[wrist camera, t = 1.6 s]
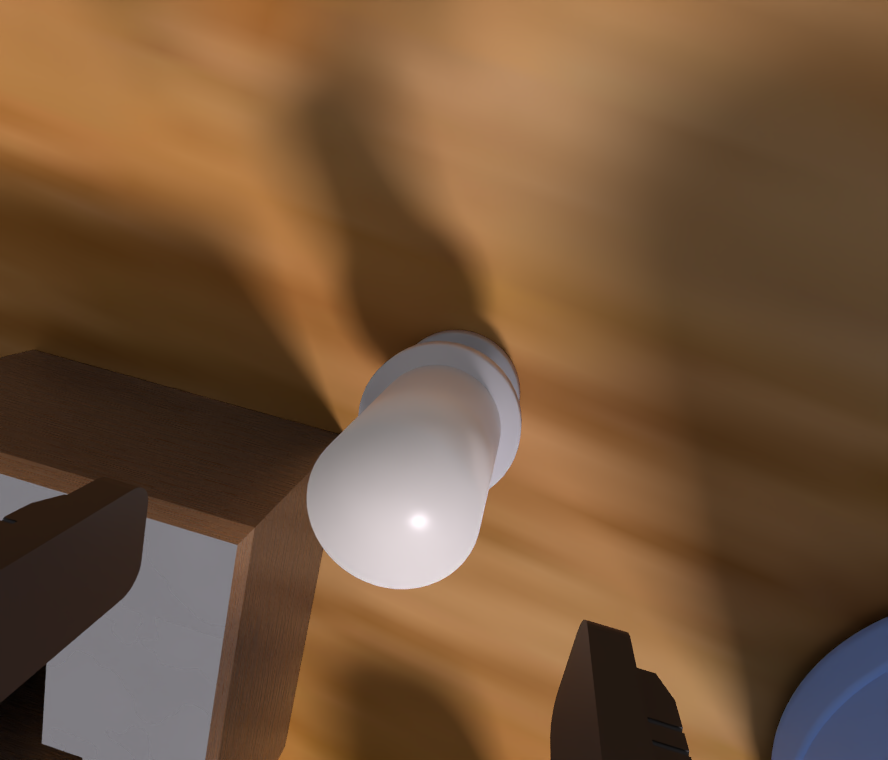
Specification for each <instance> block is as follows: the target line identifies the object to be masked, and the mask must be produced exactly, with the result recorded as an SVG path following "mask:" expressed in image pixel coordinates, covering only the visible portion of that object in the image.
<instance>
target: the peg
mask: <svg viewBox="0 0 888 760" xmlns="http://www.w3.org/2000/svg"><path fill="white" fill-rule="evenodd" d="M519 401H520V383H519V379H518V375H517V372H516V369H515V367H514V365H513V363H512V361H511V360H510V358H509V357H508V355H507V354H506V353H505V352H504V351H503V350H502V348H501V347H499V346H498V345H497V344H496V343H495V342H493V341H492V340H490V339H488V338H487V337H485V336H482V335H480V334H478V333H474V332H471V331H466V330H446V331H441V332H438V333H435V334H432V335H430V336H428V337H426V338H424V339H423V340H421V341H420V342H418V343H417V344H416V345H414V346H411V347H408V348H407V349H405V350H403V351H401V352H399V353H398V354H396V355H395V356H393V357H392V358H391V359H389V360H388V361H387V362H386V363H385V364H384V365H383V366H382V367H380V368H379V369H378V370H377V372H376V373H375V374H374V375H373V377H372V378H371V379H370V381H369V383H368V384H367V386H366V388H365V391H364V393H363V395H362V399H361V403H360V407H359V415H358V417H357V418H356V419H355V420H354V421H353V422H352V423H351V424H350V425H349V426H348V427H347V428H346V429H345V430H344V431H343V432H342V433H341V434H340V435H339V436H338V437H337V438H336V439H335V440H334V441H333V442H332V443H331V444H330V445H329V446H328V447H327V448H326V449H325V450H324V451H323V452H322V454H321V455H320V456H319V458H318V460H317V461H316V463H315V465H314V467H313V469H312V472H311V474H310V478H309V482H308V487H307V510H308V516H309V519H310V523H311V526H312V529H313V531H314V533H315V535H316V537H317V539H318V541H319V542H320V544H321V546H322V547H323V549H324V550H325V551H326V552H327V554H328V555H329V556H330V557H331V558H332V559H333V560H334V561H335V562H336V563H337V564H338V565H339V566H340V567H342V568H343V569H344V570H345V571H347V572H349V573H350V574H352V575H353V576H355V577H357V578H359V579H361V580H363V581H365V582H368V583H371V584H373V585H377V586H381V587H385V588H393V589H412V588H419V587H423V586H427V585H430V584H433V583H435V582H438V581H440V580H442V579H443V578H445V577H447V576H449V575H450V574H451V573H452V572H454V571H455V570H456V569H457V568H458V567H459V566H460V565H461V564H462V563H463V562H464V561H465V560H466V558H467V557H468V556H469V554H470V553H471V551H472V549H473V547H474V545H475V543H476V540H477V537H478V534H479V530H480V525H481V521H482V517H483V512H484V508H485V503H486V499H487V495H488V490H489V489H490V488H491V487H492V486H493V485H495V484H496V483H497V482H498V481H499V480H500V479H501V478H502V477H503V476H504V474H505V473H506V472H507V470H508V469H509V467H510V466H511V464H512V462H513V460H514V458H515V455H516V452H517V449H518V445H519V440H520V434H521V422H522V419H521V408H520V404H519Z"/></svg>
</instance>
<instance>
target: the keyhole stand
mask: <svg viewBox="0 0 888 760" xmlns="http://www.w3.org/2000/svg"><path fill="white" fill-rule="evenodd" d="M339 435H340V434H336V433H332V432H329V431H325V430H322V429H318V428H314V427H311V426H307V425H304V424H300V423H296V422H293V421H289V420H285V419H282V418H278V417H275V416H271V415H267V414H264V413H260V412H257V411H253V410H249V409H246V408H242V407H239V406H235V405H231V404H228V403H224V402H220V401H217V400H213V399H210V398H206V397H202V396H199V395H195V394H192V393H188V392H184V391H181V390H177V389H174V388H170V387H166V386H163V385H159V384H155V383H152V382H148V381H145V380H141V379H137V378H134V377H130V376H127V375H123V374H119V373H116V372H112V371H109V370H105V369H101V368H98V367H94V366H90V365H87V364H83V363H80V362H76V361H72V360H69V359H65V358H62V357H58V356H54V355H51V354H47V353H44V352H40V351H36V350H31V351H26V352H22V353H18V354H13V355H9V356H5V357H1V358H0V520H1V521H2V520H3V518H4V517H5V516H7V515H8V514H10V513H12V512H14V511H16V510H18V509H20V508H22V507H24V506H26V505H28V504H30V503H33V502H37V501H41V500H44V499H48V498H52V497H56V496H60V495H64V494H65V495H68V494H70V493H71V492H73V491H75V490H77V489H79V488H81V487H83V486H85V485H86V484H88V483H90V482H92V481H94V480H96V479H98V478H100V477H108V478H111V479H114V480H118V481H121V482H125V483H128V484H131V485H135V486H138V487H141V488H144V489H145V490H146V492H147V494H148V509H147V517H146V526H145V535H144V544H143V552H142V561H141V567H140V571H139V573H138V576H137V578H136V581H135V582H134V584H133V586H132V588H131V589H130V591H129V592H128V593H127V595H126V596H125V597H124V598H123V599H122V600H121V601H119V602H118V603H117V604H116V605H115V606H114V607H112V608H111V609H110V610H109V611H108V612H106V613H105V614H104V615H103V616H102V617H101V618H99V619H98V620H97V621H96V622H95V623H94V624H92V625H91V626H90V627H89V628H88V629H86V630H85V631H84V632H83V633H82V634H81V635H79V636H78V637H77V638H76V639H75V640H74V641H72V642H71V643H70V644H69V645H68V646H66V647H65V648H64V649H63V650H62V651H61V652H59V653H58V654H57V655H56V656H55V657H54V658H52V659H51V660H50V661H49V662H48V663H46V664H45V665H44V666H43V667H42V668H41V669H39V670H38V671H37V672H36V673H35V674H34V675H32V676H31V677H30V678H29V679H28V680H26V681H25V682H24V683H23V684H22V685H21V686H19V687H18V688H17V689H16V690H15V691H14V692H12V693H11V694H10V695H9V696H8V697H6V698H5V699H4V700H3V701H2V702H1V703H0V760H278V759H279V757H280V755H281V753H282V751H283V749H284V747H285V743H286V738H287V733H288V728H289V722H290V717H291V712H292V707H293V702H294V696H295V691H296V686H297V681H298V676H299V671H300V665H301V660H302V655H303V650H304V645H305V639H306V634H307V629H308V624H309V619H310V614H311V608H312V603H313V598H314V593H315V588H316V582H317V577H318V572H319V567H320V562H321V557H322V551H323V547H322V546H321V544H320V542H319V541H318V539H317V537H316V535H315V533H314V531H313V529H312V526H311V523H310V519H309V516H308V510H307V487H308V482H309V478H310V474H311V472H312V469H313V467H314V465H315V463H316V461H317V460H318V458H319V456H320V455H321V454H322V452H323V451H324V450H325V449H326V448H327V447H328V446H329V445H330V444H331V443H332V442H333V441H334V440H335V439H336V438H337V437H338V436H339Z"/></svg>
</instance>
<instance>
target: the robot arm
mask: <svg viewBox="0 0 888 760" xmlns="http://www.w3.org/2000/svg"><path fill="white" fill-rule="evenodd" d="M147 509H148V494H147V492H146V490H145V489H144V488H141V487H138V486H135V485H131V484H128V483H125V482H121V481H118V480H114V479H111V478H108V477H100V478H98V479H96V480H94V481H92V482H90V483H88V484H86V485H85V486H83V487H81V488H79V489H77V490H75V491H73V492H71V493H70V494H68V495H65V494H64V495H60V496H56V497H52V498H48V499H44V500H41V501H37V502H33V503H30V504H28V505H26V506H24V507H22V508H20V509H18V510H16V511H14V512H12V513H10V514H8V515H7V516H5V517H4V518H3V520H2V521H1V520H0V703H1V702H2V701H3V700H4V699H5V698H6V697H8V696H9V695H10V694H11V693H12V692H14V691H15V690H16V689H17V688H18V687H19V686H21V685H22V684H23V683H24V682H25V681H26V680H28V679H29V678H30V677H31V676H32V675H34V674H35V673H36V672H37V671H38V670H39V669H41V668H42V667H43V666H44V665H45V664H46V663H48V662H49V661H50V660H51V659H52V658H54V657H55V656H56V655H57V654H58V653H59V652H61V651H62V650H63V649H64V648H65V647H66V646H68V645H69V644H70V643H71V642H72V641H74V640H75V639H76V638H77V637H78V636H79V635H81V634H82V633H83V632H84V631H85V630H86V629H88V628H89V627H90V626H91V625H92V624H94V623H95V622H96V621H97V620H98V619H99V618H101V617H102V616H103V615H104V614H105V613H106V612H108V611H109V610H110V609H111V608H112V607H114V606H115V605H116V604H117V603H118V602H119V601H121V600H122V599H123V598H124V597H125V596H126V595H127V593H128V592H129V591H130V589H131V588H132V586H133V584H134V582H135V581H136V578H137V576H138V573H139V571H140V567H141V561H142V552H143V544H144V535H145V526H146V517H147ZM682 728H683V727H682V724H681V720H680V717H679V713H678V710H677V706H676V702H675V700H674V698H673V697H672V696H671V694H670V693H669V692H668V690H667V689H666V687H665V686H664V685H663V683H662V682H661V680H660V679H659V678H658V676H657V675H656V673H652V672H649V671H646V670H642V669H639V668H637V667H636V662H635V658H634V653H633V648H632V644H631V639H630V635H629V634H628V633H627V632H625V631H621V630H618V629H614V628H611V627H608V626H604V625H601V624H597V623H594V622H591V621H587V620H583V621H582V623H581V625H580V627H579V629H578V632H577V635H576V638H575V641H574V644H573V647H572V650H571V653H570V656H569V659H568V662H567V665H566V668H565V671H564V675H563V678H562V681H561V684H560V687H559V690H558V693H557V696H556V700H555V704H554V709H553V715H552V722H551V733H550V748H551V760H692V759H691V757H689V749H688V745H687V742H686V738H685V734H684V733H682Z"/></svg>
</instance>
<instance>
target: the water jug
mask: <svg viewBox="0 0 888 760" xmlns="http://www.w3.org/2000/svg"><path fill="white" fill-rule="evenodd" d="M771 760H888V617H886V618H883V619H881V620H879V621H877V622H875V623H873V624H871V625H869V626H867V627H866V628H864V629H862V630H860V631H859V632H857V633H855V634H854V635H852V636H851V637H849V638H848V639H846V640H845V641H843V642H842V643H841V644H839V645H838V646H837V647H835V648H834V649H833V650H832V651H831V652H829V653H828V654H827V655H826V656H825V657H824V658H823V659H822V660H821V661H819V662H818V663H817V664H816V665H815V667H814V668H813V669H812V670H811V671H810V672H809V673H808V674H807V676H806V677H805V678H804V679H803V681H802V682H801V683H800V685H799V686H798V687H797V689H796V690H795V692H794V693H793V695H792V697H791V698H790V700H789V702H788V704H787V706H786V708H785V710H784V712H783V714H782V717H781V719H780V722H779V725H778V728H777V731H776V735H775V739H774V743H773V749H772V757H771Z"/></svg>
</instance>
